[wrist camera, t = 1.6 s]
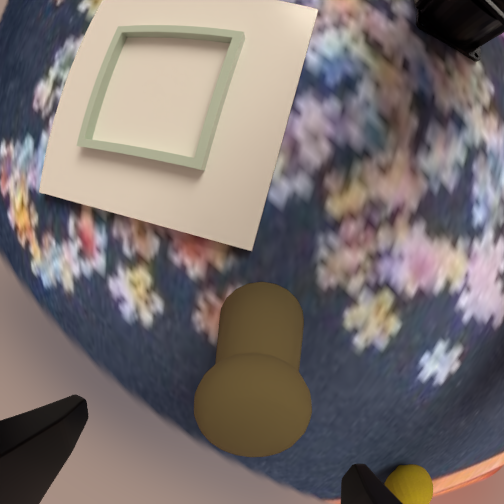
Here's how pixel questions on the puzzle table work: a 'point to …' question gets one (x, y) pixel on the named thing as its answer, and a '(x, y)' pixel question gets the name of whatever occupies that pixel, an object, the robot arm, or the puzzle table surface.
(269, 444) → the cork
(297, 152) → the puzzle table surface
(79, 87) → the cream flat square slab
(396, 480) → the lemon
